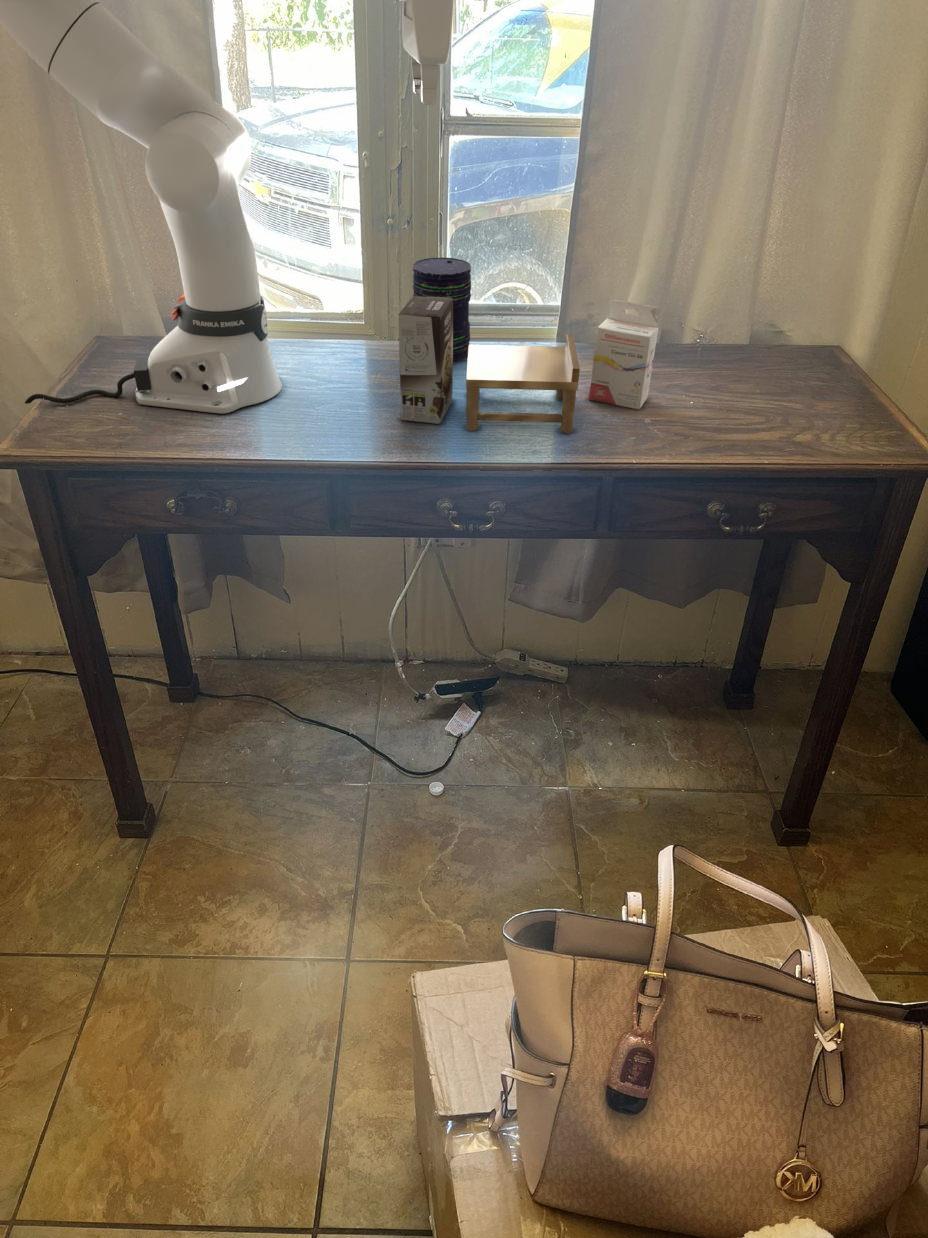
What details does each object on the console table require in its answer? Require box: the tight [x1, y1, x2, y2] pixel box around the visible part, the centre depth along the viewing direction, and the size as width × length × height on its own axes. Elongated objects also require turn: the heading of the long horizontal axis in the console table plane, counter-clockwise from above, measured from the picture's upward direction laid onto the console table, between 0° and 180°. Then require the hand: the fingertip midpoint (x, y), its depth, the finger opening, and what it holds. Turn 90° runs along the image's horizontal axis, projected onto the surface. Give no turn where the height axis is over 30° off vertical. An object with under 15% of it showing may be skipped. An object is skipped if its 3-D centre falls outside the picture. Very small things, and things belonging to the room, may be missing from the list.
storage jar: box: [412, 256, 472, 364], centre depth 151 cm, size 10×10×15 cm
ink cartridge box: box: [588, 298, 661, 410], centre depth 137 cm, size 9×5×15 cm, turn 65°
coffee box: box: [397, 295, 454, 425], centre depth 132 cm, size 9×6×16 cm
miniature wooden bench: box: [465, 333, 581, 434], centre depth 133 cm, size 16×14×10 cm
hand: (424, 98), depth 115 cm, fingers open, 8 cm apart
